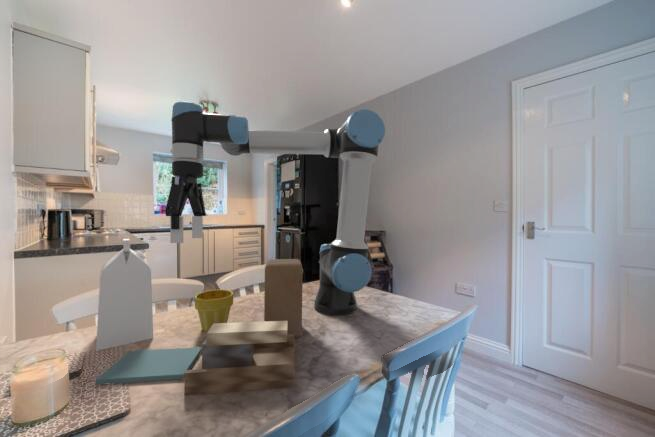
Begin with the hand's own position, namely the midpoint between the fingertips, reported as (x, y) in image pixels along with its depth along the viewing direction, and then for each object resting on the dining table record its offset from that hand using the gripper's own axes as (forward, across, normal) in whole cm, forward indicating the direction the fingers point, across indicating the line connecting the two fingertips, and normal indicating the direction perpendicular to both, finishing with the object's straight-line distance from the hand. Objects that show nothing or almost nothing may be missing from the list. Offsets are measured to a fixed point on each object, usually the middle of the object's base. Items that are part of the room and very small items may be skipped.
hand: (188, 240), depth 73 cm
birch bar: (+19, +18, +20) cm, 33 cm away
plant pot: (+26, -4, +6) cm, 27 cm away
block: (+26, 0, +26) cm, 37 cm away
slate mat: (+26, +15, -1) cm, 30 cm away
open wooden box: (+26, +18, +19) cm, 37 cm away
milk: (+26, -1, -16) cm, 31 cm away
